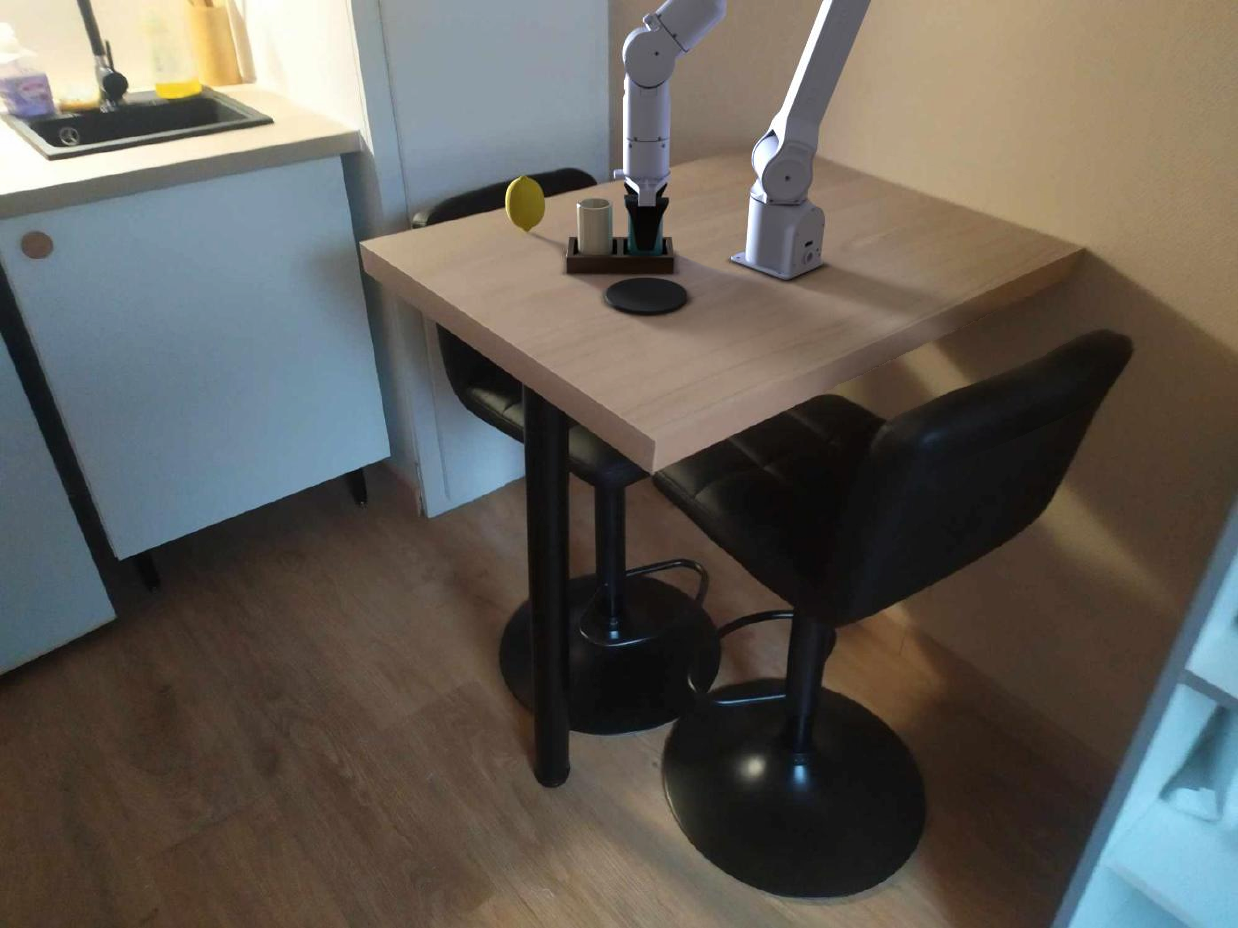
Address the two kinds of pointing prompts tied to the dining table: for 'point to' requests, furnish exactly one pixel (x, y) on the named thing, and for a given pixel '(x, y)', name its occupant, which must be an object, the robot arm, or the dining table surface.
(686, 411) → the dining table surface
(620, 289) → the coaster
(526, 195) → the lemon
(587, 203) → the cream cup
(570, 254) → the holder
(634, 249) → the teal cup
